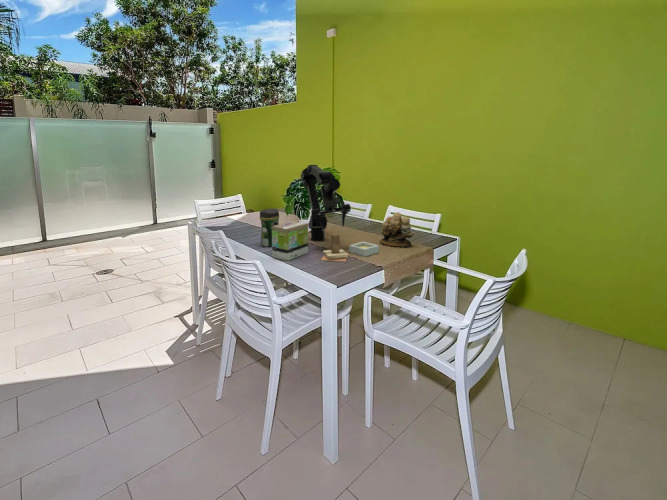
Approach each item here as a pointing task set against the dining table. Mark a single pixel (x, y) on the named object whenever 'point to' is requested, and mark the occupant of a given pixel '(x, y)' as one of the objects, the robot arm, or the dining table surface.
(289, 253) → the tea box
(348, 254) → the tile
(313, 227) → the robot arm
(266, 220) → the coffee jar
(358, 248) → the pale green square dish
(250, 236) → the dining table surface
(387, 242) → the brown lumpy sculpture
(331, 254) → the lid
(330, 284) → the dining table surface
